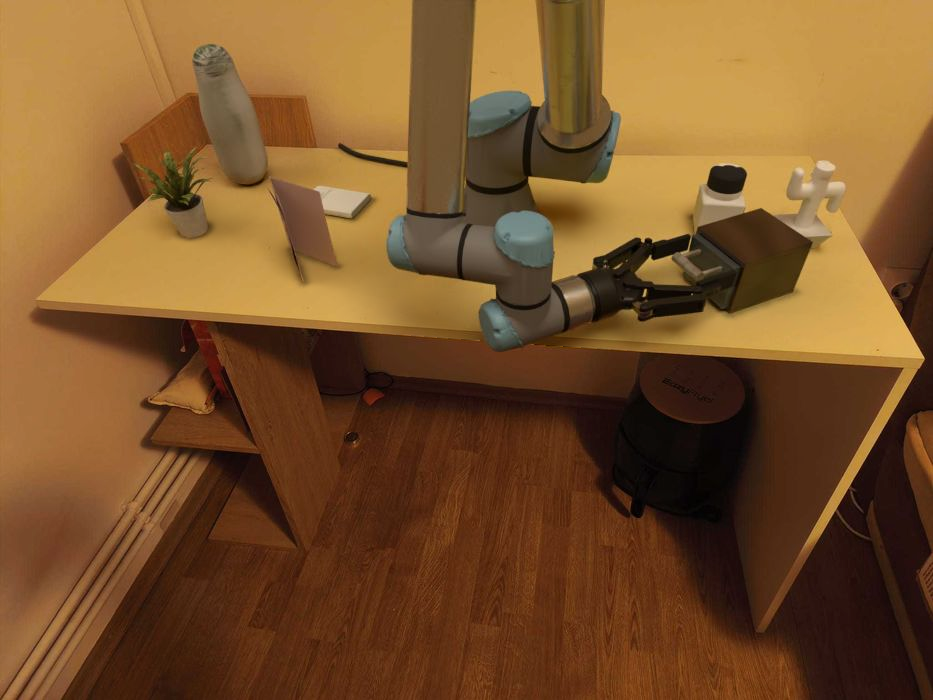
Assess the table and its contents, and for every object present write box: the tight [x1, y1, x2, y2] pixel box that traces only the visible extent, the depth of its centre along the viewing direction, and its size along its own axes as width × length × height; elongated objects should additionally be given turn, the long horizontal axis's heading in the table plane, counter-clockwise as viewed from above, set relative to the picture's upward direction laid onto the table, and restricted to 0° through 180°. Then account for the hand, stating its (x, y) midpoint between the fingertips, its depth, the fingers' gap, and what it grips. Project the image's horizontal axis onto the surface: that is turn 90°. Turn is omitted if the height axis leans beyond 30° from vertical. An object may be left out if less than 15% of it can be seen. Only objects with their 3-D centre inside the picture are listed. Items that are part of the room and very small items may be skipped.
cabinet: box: [696, 207, 813, 314], centre depth 98 cm, size 13×11×10 cm
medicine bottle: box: [692, 162, 748, 235], centre depth 109 cm, size 7×7×12 cm
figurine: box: [773, 159, 847, 250], centre depth 104 cm, size 7×9×15 cm
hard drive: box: [312, 184, 372, 220], centre depth 125 cm, size 2×8×12 cm
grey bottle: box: [192, 43, 269, 185], centre depth 126 cm, size 10×10×28 cm
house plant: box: [130, 145, 214, 239], centre depth 115 cm, size 14×14×16 cm
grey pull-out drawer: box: [671, 234, 741, 310], centre depth 97 cm, size 16×10×8 cm, turn 112°
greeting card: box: [267, 176, 338, 283], centre depth 107 cm, size 11×7×15 cm, turn 23°
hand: (709, 259), depth 95 cm, fingers closed on grey pull-out drawer, 10 cm apart
